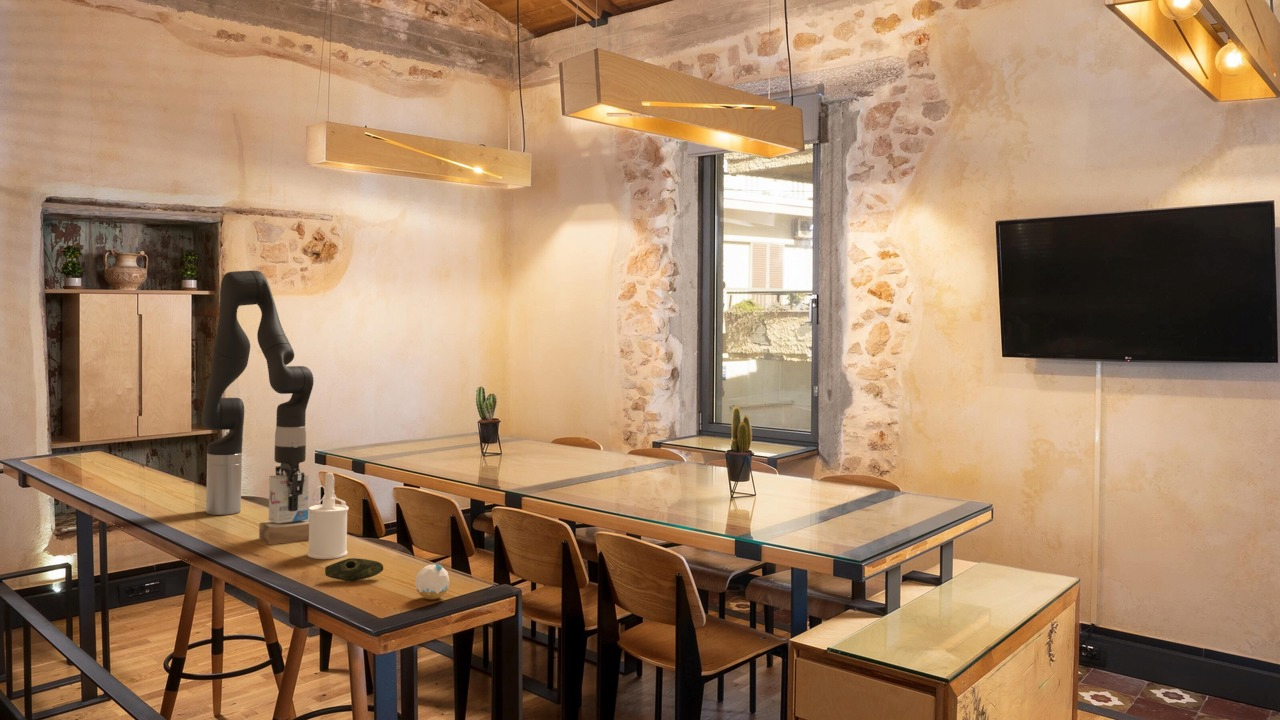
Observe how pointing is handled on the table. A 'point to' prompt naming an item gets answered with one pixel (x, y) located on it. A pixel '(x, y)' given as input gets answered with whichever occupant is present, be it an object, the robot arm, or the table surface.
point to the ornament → (432, 581)
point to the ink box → (286, 501)
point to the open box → (284, 531)
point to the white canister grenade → (328, 524)
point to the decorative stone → (353, 569)
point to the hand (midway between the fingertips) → (288, 508)
